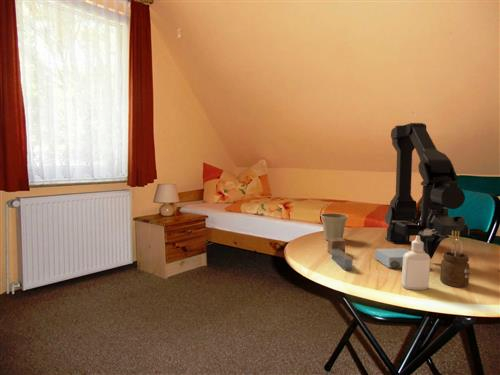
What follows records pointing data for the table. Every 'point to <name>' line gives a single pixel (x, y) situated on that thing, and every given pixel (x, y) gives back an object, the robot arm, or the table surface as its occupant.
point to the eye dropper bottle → (416, 267)
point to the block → (336, 244)
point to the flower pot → (333, 225)
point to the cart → (391, 257)
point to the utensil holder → (455, 266)
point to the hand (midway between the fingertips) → (429, 258)
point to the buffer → (342, 259)
